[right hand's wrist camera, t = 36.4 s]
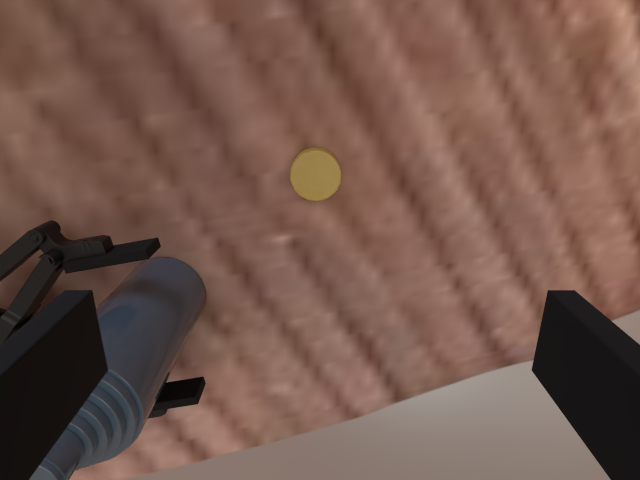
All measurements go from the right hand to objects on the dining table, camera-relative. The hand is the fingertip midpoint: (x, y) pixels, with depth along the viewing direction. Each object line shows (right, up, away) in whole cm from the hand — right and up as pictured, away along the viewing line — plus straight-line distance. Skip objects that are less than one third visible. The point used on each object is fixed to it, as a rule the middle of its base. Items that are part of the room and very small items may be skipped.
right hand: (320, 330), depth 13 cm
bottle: (-15, -3, +30) cm, 33 cm away
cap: (0, +8, +24) cm, 26 cm away
